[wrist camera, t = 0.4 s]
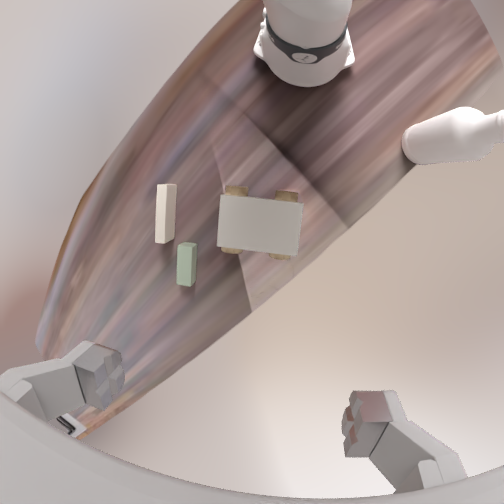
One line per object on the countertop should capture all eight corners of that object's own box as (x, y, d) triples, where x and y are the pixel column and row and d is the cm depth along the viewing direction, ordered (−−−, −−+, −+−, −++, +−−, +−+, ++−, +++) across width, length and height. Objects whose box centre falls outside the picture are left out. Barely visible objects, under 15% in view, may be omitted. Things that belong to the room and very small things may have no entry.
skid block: (183, 241, 59) (177, 245, 56) (197, 243, 59) (192, 247, 55) (182, 278, 61) (176, 284, 58) (195, 280, 61) (190, 286, 57)
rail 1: (228, 185, 55) (223, 185, 51) (249, 187, 54) (246, 187, 50) (223, 246, 58) (219, 251, 54) (244, 249, 57) (240, 254, 53)
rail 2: (276, 190, 54) (275, 190, 50) (297, 192, 53) (298, 193, 49) (269, 252, 57) (268, 258, 53) (290, 255, 56) (290, 260, 52)
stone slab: (223, 194, 51) (220, 195, 49) (303, 202, 50) (303, 203, 48) (219, 243, 54) (216, 246, 52) (296, 253, 52) (296, 256, 50)
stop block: (168, 183, 56) (157, 184, 51) (177, 184, 56) (167, 185, 51) (165, 237, 59) (155, 242, 54) (174, 238, 59) (164, 243, 54)
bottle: (392, 140, 48) (481, 111, 19) (417, 118, 46) (509, 79, 17) (418, 173, 49) (517, 175, 20) (441, 149, 47) (543, 137, 18)
